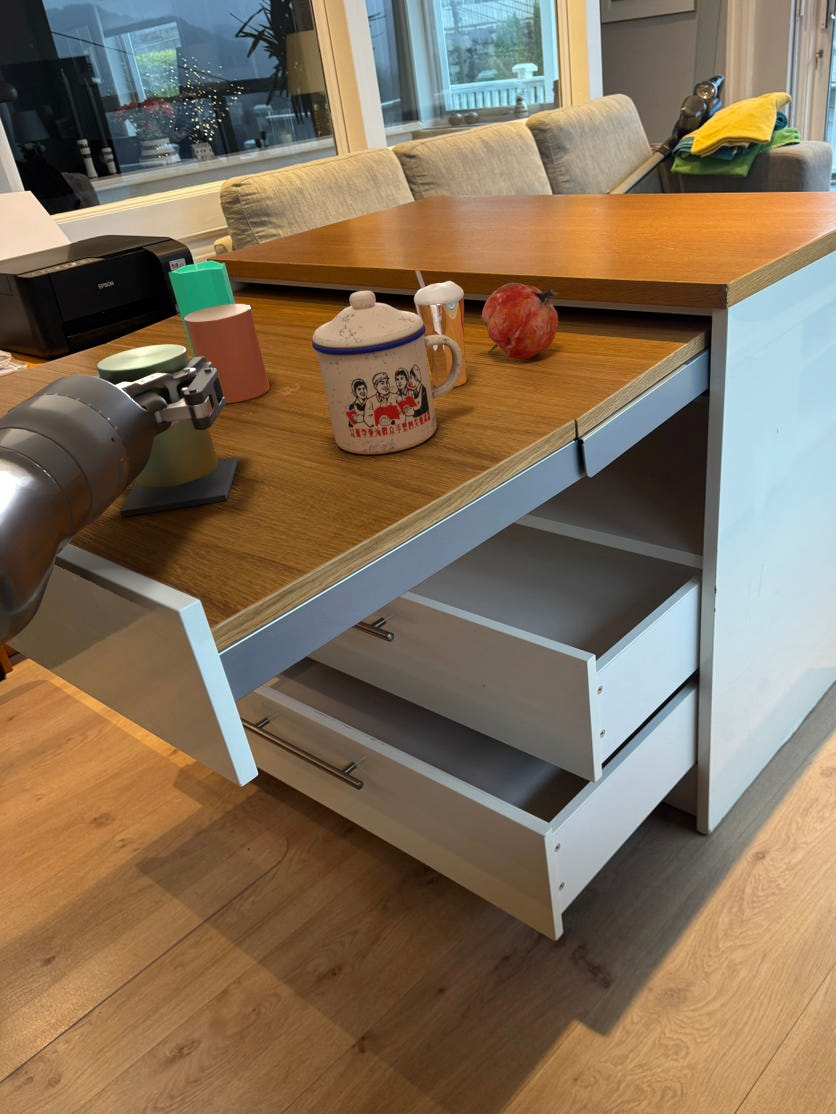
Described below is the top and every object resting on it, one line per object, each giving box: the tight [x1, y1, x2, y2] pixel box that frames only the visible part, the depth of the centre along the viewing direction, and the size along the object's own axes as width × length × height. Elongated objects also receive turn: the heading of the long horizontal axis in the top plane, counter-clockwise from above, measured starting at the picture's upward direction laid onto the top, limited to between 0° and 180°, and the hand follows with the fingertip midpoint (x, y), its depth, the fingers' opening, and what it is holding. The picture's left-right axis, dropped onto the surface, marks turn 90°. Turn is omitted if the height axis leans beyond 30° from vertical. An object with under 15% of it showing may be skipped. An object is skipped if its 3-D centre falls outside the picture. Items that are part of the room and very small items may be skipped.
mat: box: [119, 456, 239, 518], centre depth 71 cm, size 8×8×1 cm
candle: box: [168, 251, 236, 359], centre depth 98 cm, size 6×6×12 cm
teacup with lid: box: [311, 290, 462, 455], centre depth 73 cm, size 12×9×12 cm
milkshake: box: [413, 269, 467, 388], centre depth 84 cm, size 4×5×10 cm
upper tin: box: [96, 343, 219, 488], centre depth 68 cm, size 6×6×9 cm
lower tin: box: [184, 303, 271, 405], centre depth 89 cm, size 6×6×8 cm
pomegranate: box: [481, 282, 559, 360], centre depth 89 cm, size 7×7×10 cm
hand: (160, 374), depth 69 cm, fingers closed on upper tin, 6 cm apart
